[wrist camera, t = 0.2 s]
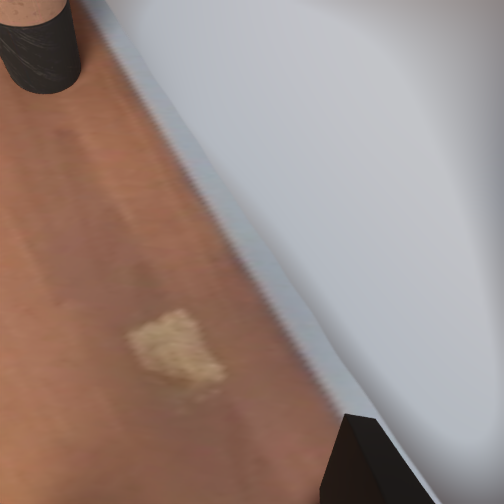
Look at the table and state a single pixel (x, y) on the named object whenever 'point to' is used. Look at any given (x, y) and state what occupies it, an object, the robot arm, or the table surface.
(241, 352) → the table surface
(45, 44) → the travel mug
